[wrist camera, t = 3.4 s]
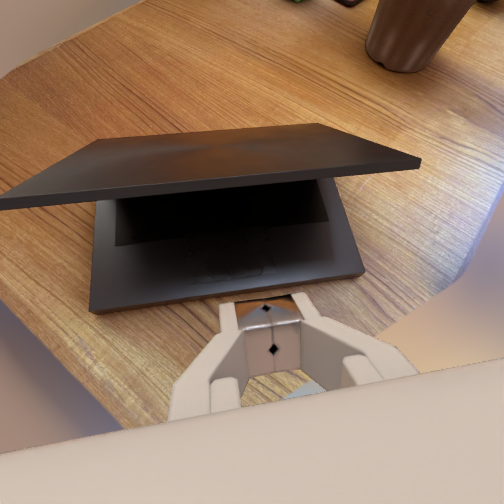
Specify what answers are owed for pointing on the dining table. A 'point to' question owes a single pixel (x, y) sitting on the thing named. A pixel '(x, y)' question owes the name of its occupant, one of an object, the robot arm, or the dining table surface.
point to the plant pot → (412, 31)
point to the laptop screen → (204, 164)
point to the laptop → (219, 244)
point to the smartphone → (349, 2)
